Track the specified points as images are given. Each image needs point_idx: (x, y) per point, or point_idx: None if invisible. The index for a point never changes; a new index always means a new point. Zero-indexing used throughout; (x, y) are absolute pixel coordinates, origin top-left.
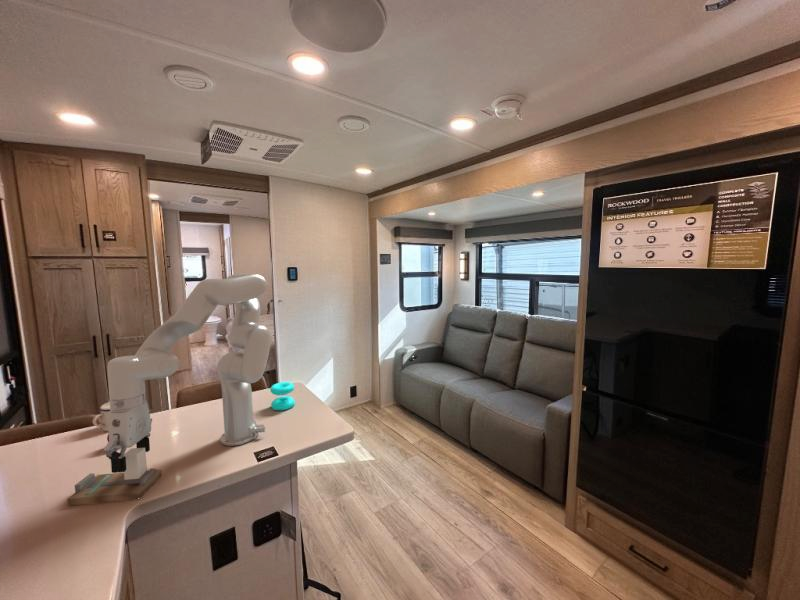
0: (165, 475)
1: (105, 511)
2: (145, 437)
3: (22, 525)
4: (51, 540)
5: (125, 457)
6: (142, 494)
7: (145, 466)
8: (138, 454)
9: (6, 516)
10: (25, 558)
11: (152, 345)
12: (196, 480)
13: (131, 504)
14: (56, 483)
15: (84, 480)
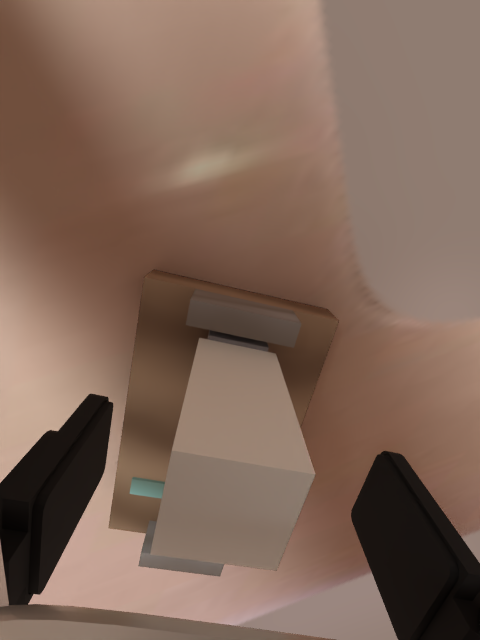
0: (157, 249)
1: (349, 403)
2: (5, 546)
3: (303, 577)
4: (427, 486)
5: (462, 560)
6: (305, 305)
7: (209, 355)
8: (286, 458)
9: (237, 624)
10: (473, 508)
11: None
12: (280, 34)
13: (351, 327)
14: (94, 601)
15: (191, 561)
